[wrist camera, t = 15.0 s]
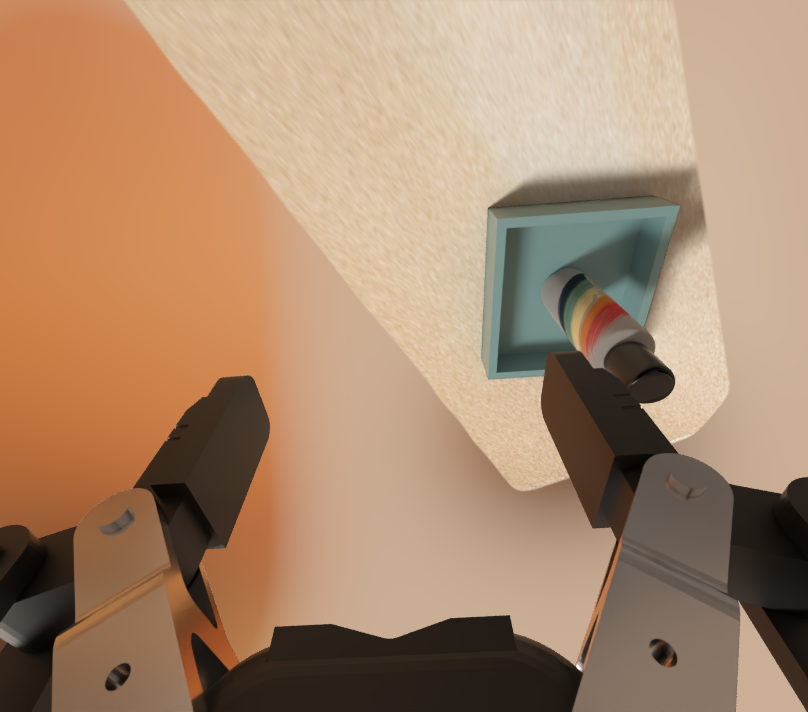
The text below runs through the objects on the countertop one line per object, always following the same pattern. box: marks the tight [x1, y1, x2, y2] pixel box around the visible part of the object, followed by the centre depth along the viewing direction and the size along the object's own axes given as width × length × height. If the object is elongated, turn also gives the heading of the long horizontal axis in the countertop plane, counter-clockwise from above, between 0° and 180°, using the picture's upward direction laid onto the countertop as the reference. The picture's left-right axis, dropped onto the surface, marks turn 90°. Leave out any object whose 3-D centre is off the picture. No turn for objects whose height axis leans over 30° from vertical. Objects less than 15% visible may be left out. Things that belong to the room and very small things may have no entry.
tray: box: [481, 196, 680, 380], centre depth 46 cm, size 20×18×5 cm
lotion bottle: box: [541, 268, 675, 404], centre depth 39 cm, size 6×6×20 cm
